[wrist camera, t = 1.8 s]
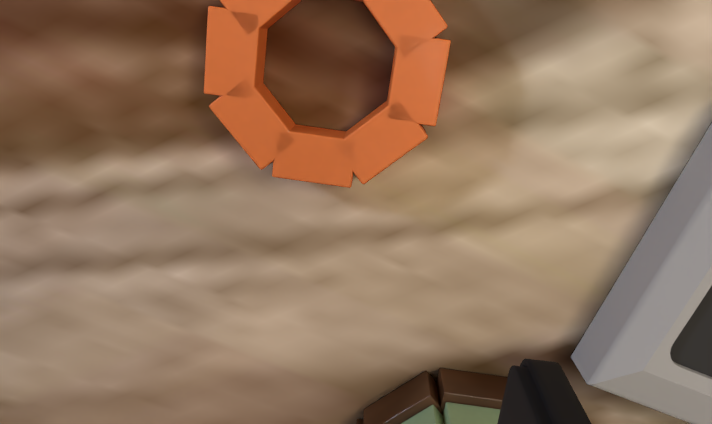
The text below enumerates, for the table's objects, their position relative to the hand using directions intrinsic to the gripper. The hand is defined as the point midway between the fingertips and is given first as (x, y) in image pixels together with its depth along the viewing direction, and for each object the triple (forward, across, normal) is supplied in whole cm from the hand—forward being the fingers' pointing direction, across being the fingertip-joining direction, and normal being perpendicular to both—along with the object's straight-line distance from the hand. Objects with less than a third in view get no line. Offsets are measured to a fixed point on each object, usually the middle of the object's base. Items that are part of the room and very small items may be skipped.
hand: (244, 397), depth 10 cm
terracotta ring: (+18, +1, -5) cm, 19 cm away
